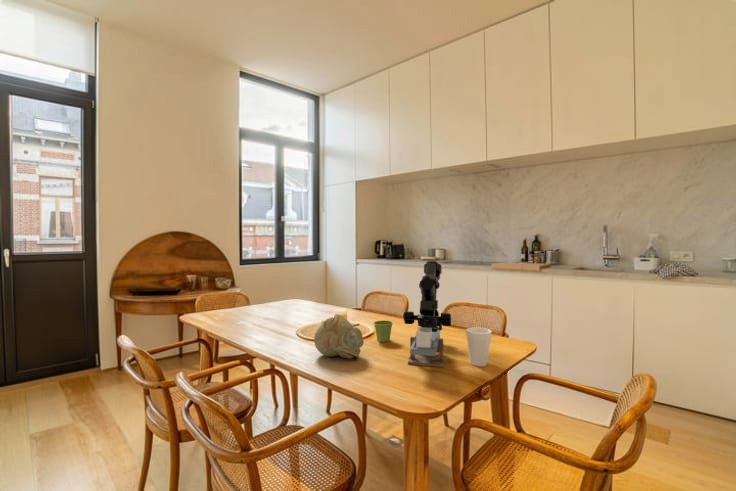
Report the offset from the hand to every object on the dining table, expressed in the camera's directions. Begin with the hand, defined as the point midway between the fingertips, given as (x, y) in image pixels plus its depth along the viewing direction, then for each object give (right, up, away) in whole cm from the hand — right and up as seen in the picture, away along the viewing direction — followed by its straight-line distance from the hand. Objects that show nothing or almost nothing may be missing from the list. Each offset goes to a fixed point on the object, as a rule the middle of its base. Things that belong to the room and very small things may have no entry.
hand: (426, 337), depth 142 cm
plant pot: (-15, -10, +33) cm, 38 cm away
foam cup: (+21, -11, +1) cm, 23 cm away
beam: (0, -9, +2) cm, 9 cm away
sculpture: (-34, -11, +11) cm, 38 cm away
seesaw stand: (+1, -11, +3) cm, 11 cm away
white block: (-2, -2, -8) cm, 9 cm away
